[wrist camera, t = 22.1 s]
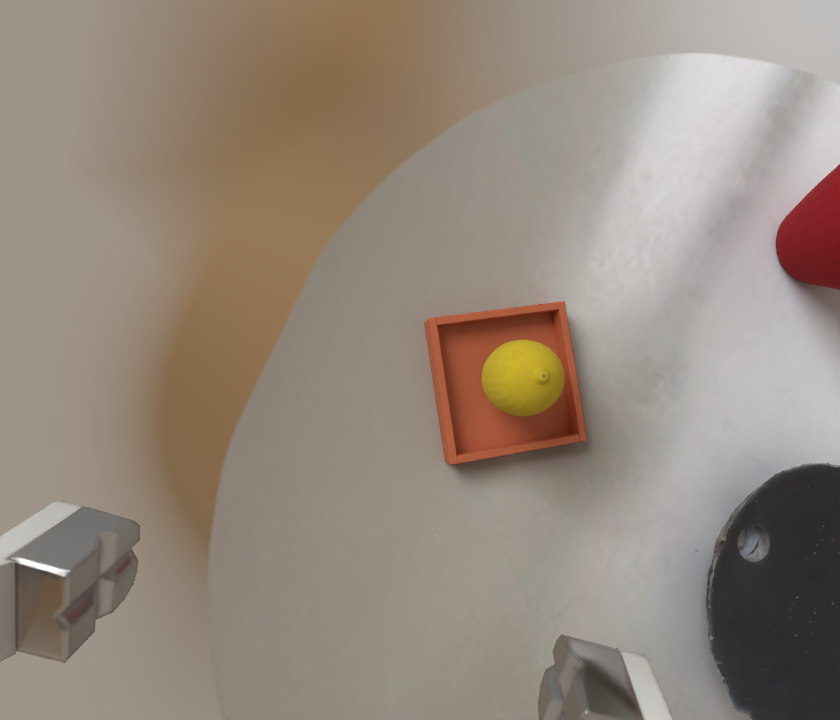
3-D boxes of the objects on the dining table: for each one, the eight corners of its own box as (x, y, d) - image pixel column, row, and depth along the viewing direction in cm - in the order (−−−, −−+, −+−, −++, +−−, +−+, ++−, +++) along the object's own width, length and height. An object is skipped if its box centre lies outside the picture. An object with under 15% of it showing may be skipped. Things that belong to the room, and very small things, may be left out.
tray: (445, 461, 39) (450, 465, 37) (424, 322, 40) (428, 318, 38) (575, 438, 41) (587, 440, 39) (554, 305, 41) (564, 301, 39)
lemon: (490, 426, 39) (528, 434, 31) (458, 365, 39) (487, 357, 31) (548, 393, 40) (598, 393, 32) (516, 333, 40) (559, 318, 32)
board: (625, 518, 41) (665, 535, 36) (828, 418, 45) (889, 420, 40) (723, 765, 41) (777, 817, 36) (918, 643, 45) (992, 675, 40)
